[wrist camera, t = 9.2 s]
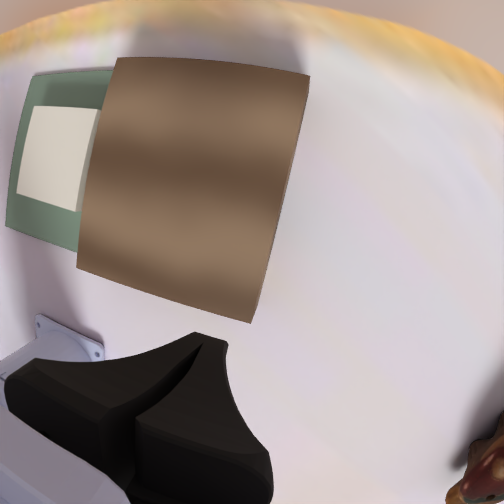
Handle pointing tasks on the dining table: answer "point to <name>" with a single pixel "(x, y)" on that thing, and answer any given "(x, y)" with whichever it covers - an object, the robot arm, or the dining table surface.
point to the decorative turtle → (482, 472)
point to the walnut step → (190, 179)
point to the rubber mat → (19, 206)
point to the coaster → (58, 155)
